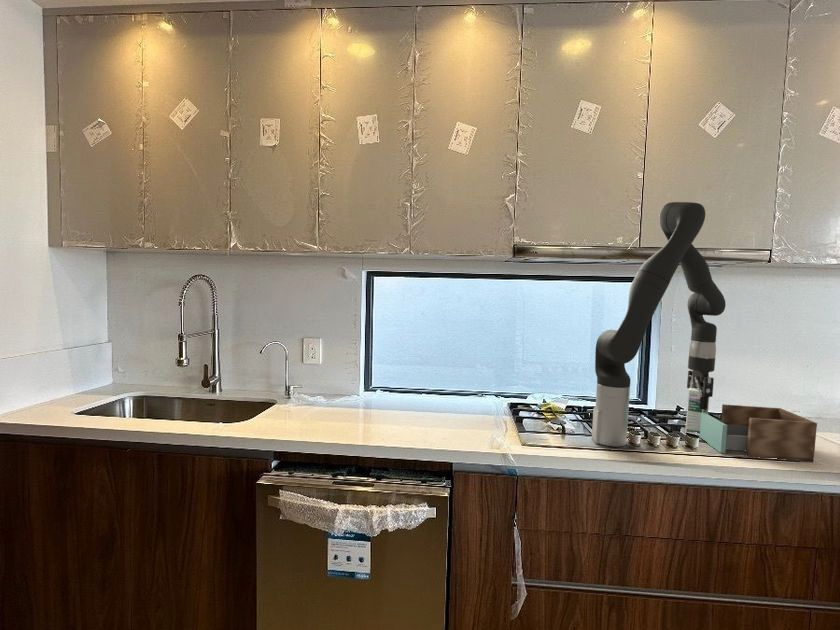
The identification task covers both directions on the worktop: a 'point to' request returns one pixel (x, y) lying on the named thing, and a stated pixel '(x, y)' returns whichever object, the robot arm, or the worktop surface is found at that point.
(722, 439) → the mint green drawer
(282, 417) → the worktop surface
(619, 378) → the robot arm
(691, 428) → the syrup box
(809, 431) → the wooden storage crate
